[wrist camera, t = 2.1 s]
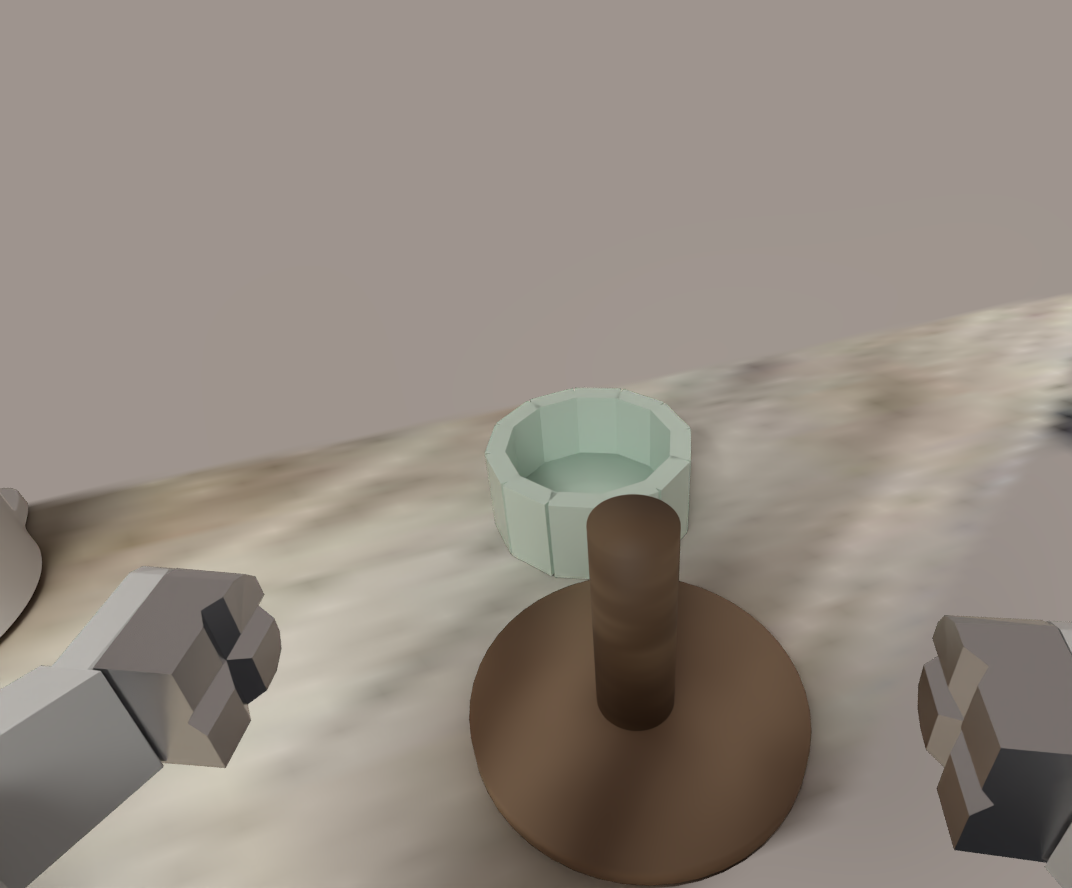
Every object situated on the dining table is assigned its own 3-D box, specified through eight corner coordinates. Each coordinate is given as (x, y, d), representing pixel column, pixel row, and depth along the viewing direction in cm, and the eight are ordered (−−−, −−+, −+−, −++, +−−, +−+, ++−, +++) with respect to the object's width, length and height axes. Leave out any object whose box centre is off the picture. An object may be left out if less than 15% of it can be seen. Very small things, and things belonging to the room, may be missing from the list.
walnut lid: (435, 861, 26) (373, 675, 20) (507, 585, 36) (481, 408, 31) (831, 914, 24) (892, 722, 18) (788, 603, 34) (819, 415, 28)
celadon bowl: (479, 572, 37) (466, 502, 34) (516, 451, 45) (508, 386, 42) (687, 585, 35) (690, 512, 33) (688, 456, 43) (690, 389, 40)
